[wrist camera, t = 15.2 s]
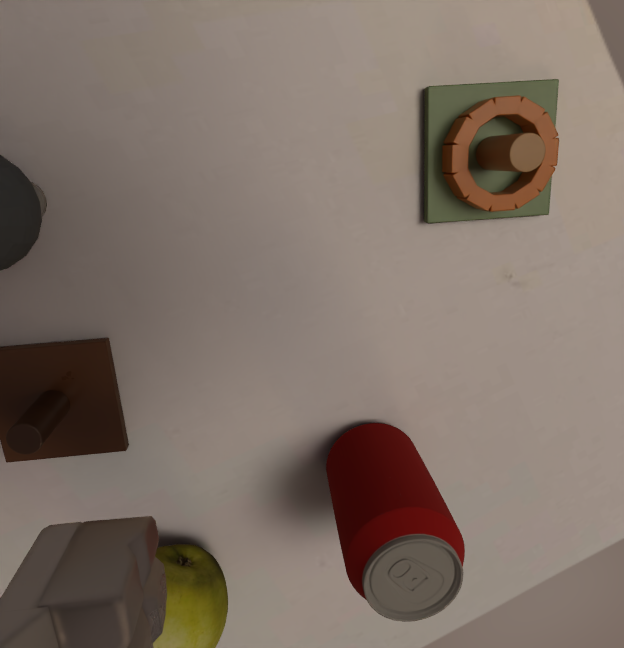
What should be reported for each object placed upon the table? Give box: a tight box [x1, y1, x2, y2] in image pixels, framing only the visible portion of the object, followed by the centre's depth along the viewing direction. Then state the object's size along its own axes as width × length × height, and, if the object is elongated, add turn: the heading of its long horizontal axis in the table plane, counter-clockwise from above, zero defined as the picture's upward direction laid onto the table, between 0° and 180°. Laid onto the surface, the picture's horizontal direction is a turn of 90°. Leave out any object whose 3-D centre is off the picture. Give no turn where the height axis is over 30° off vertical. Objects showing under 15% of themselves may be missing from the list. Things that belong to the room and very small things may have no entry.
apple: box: [153, 544, 228, 648], centre depth 37 cm, size 8×9×8 cm
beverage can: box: [326, 423, 465, 622], centre depth 33 cm, size 7×7×12 cm
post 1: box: [0, 338, 129, 462], centre depth 33 cm, size 8×8×6 cm
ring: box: [442, 96, 559, 212], centre depth 32 cm, size 6×6×2 cm
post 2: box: [424, 79, 559, 223], centre depth 31 cm, size 8×8×6 cm
